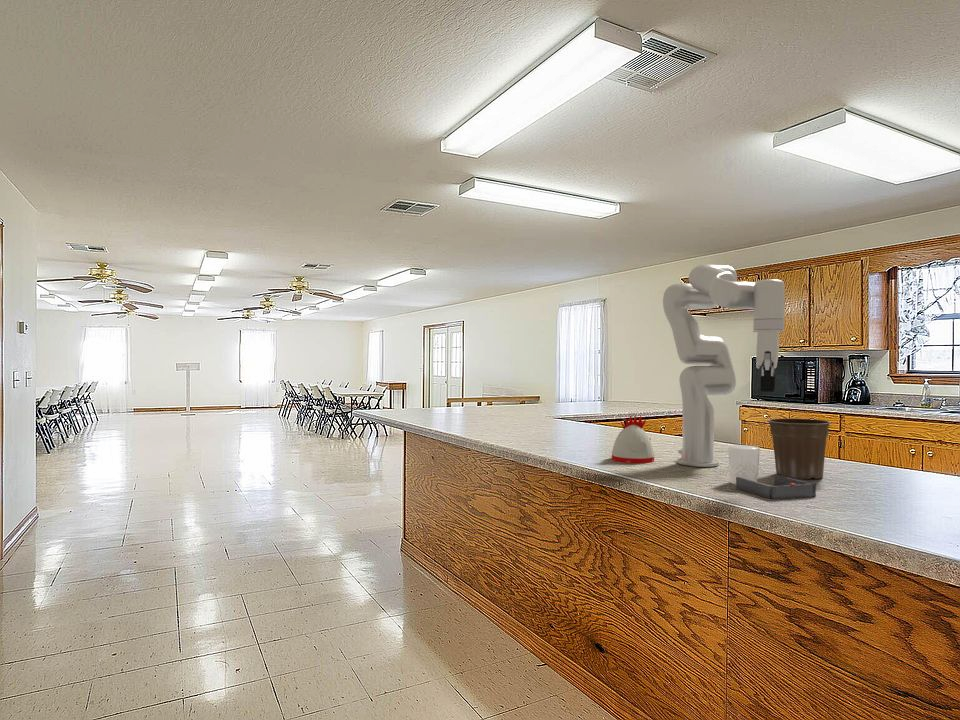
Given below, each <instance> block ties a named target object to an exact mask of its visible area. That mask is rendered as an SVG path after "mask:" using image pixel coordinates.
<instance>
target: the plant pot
mask: <svg viewBox="0 0 960 720" xmlns="http://www.w3.org/2000/svg"><path fill="white" fill-rule="evenodd" d="M767 422H768V423H769V427H770V435H772V446H773V455H774V463H775V465H774V466H775V473H776V474H775V475H780V476H785V477H789V478H793V479H797V480H810V479H814V480H818V479H819V480H820V479H822V478H823V477H824V469H825V468H824V467H825V458H826V456H825V455H826V446H827V438H828V436H829V428H830V425H831V424H832V422H831V421H829V420H824V419H814V418H789V417H788V418H787V417H786V418H771V419H768V420H767Z"/></svg>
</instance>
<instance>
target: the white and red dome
mask: <svg viewBox="0 0 960 720" xmlns="http://www.w3.org/2000/svg"><path fill="white" fill-rule="evenodd" d="M624 420H625V425H624V423H623V422H622V421H620V424H621V426H622V428H623V429H621V431H619V433H618V435H617V436H616V438H615V440H614V443H613V446H612V451H611V460H612V461H614V462H617V463H622V464H623V463H624V464H649V463H651V464H652V463H654V462H655V451H654V447H653V444H652V442H651V441H652V439H651V437H649V435H648V434H647V433H646V431H645V430H644V429H643V428H644V426H645V425H646V421H647V420H646V419H644V420H643V418H642V415H640V416H639V419H638V418H637V416H636V415H634V417H633V416H632V415H629V420H628V419H627V418H625V419H624Z"/></svg>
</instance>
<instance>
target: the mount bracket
mask: <svg viewBox="0 0 960 720" xmlns="http://www.w3.org/2000/svg"><path fill="white" fill-rule="evenodd" d="M816 487H817V484H816V483H812V482H809V481H808V482H807V481H804V480H802V479H793V478H789V477H785V476H780V475H777V474H774V475H773V485H770V484H766V483H762V482H759V481H757V482H756V481H752V480H749V479H745V478H741V477H736V485H735V489H737V490H740V491H743V492H745V493H749V494H753V495H756V496H760V497H763V498H766V499H769V500H783V499H797V498H809V497H811V498H812V497H816V496H817V490H816V489H817V488H816Z"/></svg>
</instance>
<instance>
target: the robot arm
mask: <svg viewBox="0 0 960 720" xmlns="http://www.w3.org/2000/svg"><path fill="white" fill-rule="evenodd" d="M688 281H689V283H687V282H685V283H684V282H683V283H674V284H670V285H669V286H668V287H666V289H665V290H664V293H663V297H662V306H663V307H662V308H663V311H664V314H665V317H666V319H667V322H668V323H669V325H670V328H671V331H672V336H673V339H674V343H675V348H676V352H677V356H678V359H679V360H680V362H681V363H683V364H685V365H691V366H688V367H685V368H683V370H682V371H681V372H680V375H679V378H678V379H679V380H678V381H679V387H680V392H681V399H682V400H681V401H682V447H681V449H678V450H677V452H678V454H680V455H681V457H679V458H677V464H679V465H682V466H686V467H687V466H689V467H696V468H697V467H698V468H699V467H700V468H711V467H717V466H719V465H720V461H719V460H717V459H714V457H715V455H714V453H715V451H714V450H715V449H714V447H715V446H714V445H715V443H714V442H715V438H714V437H715V432H714V431H715V430H714V429H715V411H714V407H713V404H712V403H711V401H710V399H709V398H708V396H726V395H729V394H732V393H733V392H734V390H735V389H736V384H737V379H736V374H735V370H734V365H733V363H732V359H731V354H730V352H729V347H728V346H727V344H726V342H725V341H724V340H723V339H722V338H721V337H719V336H714V335H703V334H702V333H701V330H700V326H699V322H698V321H697V320H696V319H695V317H694V316H693V315H692V314H691V313H690V312H689V311H688V309H689V310H690V309H691V310H694V309H695V310H710V309H711V310H712V309H714V308H715V307H716V306H718V307H722V308H725V309H729V310H730V309H731V310H753V318H752V319H753V322H752V323H753V325H752V329H753V330H752V331H753V333H757V336H756V353H755V354H756V358H755V359H756V361H755V363H756V364H755V367H756V368H757V369H760V367H761V376H760V391H761V392H762V393H764V392H765V393H774V392H775V386H776V383H775V382H776V375H775V369H776V368H777V367H778V363H779V362H778V360H779V350H780V346H779V345H780V333H783V332H785V305H786V303H785V302H786V301H785V300H786V299H785V298H786V296H785V295H786V289H785V288H786V285H785V282H784V281H783V280H780V279H773V278H772V279H762V280H761V279H760V280H757V281H756V282H755V281H753V282H752V281H738V274H737V271H736V269H734V268H733V267H732V266H730V265H726V264H708V263H707V264H699V265H697V266H695V267H693V268H692V269H691V270H690V272H689V274H688Z"/></svg>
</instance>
